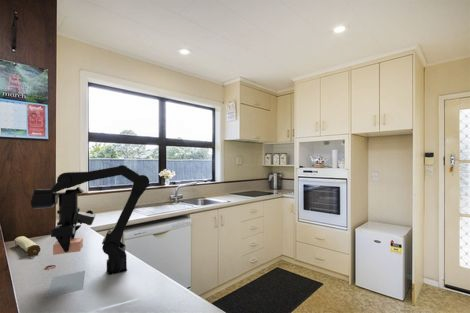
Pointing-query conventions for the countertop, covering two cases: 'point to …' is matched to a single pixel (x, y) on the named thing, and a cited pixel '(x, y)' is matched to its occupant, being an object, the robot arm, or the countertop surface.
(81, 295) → the countertop surface
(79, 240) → the card box
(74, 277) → the mat
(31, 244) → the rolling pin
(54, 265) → the key
